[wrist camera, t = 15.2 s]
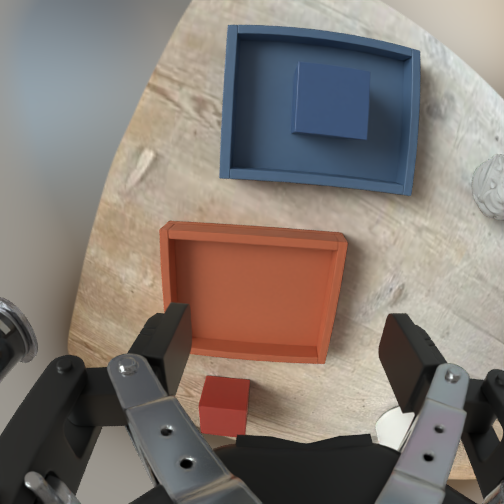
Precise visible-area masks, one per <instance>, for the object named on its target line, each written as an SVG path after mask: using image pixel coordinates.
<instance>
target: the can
mask: <svg viewBox="0 0 504 504" xmlns="http://www.w3.org/2000/svg"><path fill="white" fill-rule="evenodd" d="M414 416H415V414H414V412H411V413H403V414H402V411H401V409H400V406H398V407H395V408H392V409H390V410H389V411H387V412H385V413H384V414H383V415H382V416H381V417H380V418H379V420H378V421H377V423H376V426H375V428H376V433H377V436H378V440H379V444H381V445H385V446H388V447H391V448H393V449H395V450H398V448H399V446H400V444H401V442H402V440H403V438H404V436H405V434H406V432H407V430H408V428H409V426H410V423H411V421H412V419H413V417H414Z"/></svg>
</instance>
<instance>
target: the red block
mask: <svg viewBox="0 0 504 504" xmlns="http://www.w3.org/2000/svg"><path fill="white" fill-rule="evenodd" d="M249 388H250V380H247V379H235V378H225V377H216V376H206V380H205V383H204V387H203V391H202V395H201V398H200V402H199V417H200V427H201V433H205V434H213V435H220V436H230V437H237V434H238V435H245V433H246V423H247V414H248V402H249Z"/></svg>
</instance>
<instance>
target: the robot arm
mask: <svg viewBox="0 0 504 504" xmlns="http://www.w3.org/2000/svg"><path fill="white" fill-rule="evenodd" d="M191 347H192V325H191V308H190V304H186V303H175V302H171V303H170V304H169V306H168V308H167V309H166V311H165V313H164V314H163V313H157V314H155V315H154V316H152V317H151V318H149V319H148V320H147V322H146V324H145V325H144V328H143V329H142V330H141V332H140V334H139V335H138V337H137V338H136V340H135V342H134V343H133V345H132V346H131V348H130V350H129V351H128V353H127V354H122V355H119V356H116V357H115V358H113V359H112V360H111V361H110V362H109V363H108V366H107V367H102V368H85V365H84V362H83V360H82V359H81V358H79V357H77V356H73V355H65V356H61V357H58V358H56V359H54V360H53V361H52V362H51V363H50V364H49V365H48V366H47V368H46V369H45V370H44V372H43V373H42V375H41V376H40V377H39V379H38V380H37V382H36V383H35V384H34V386H33V387H32V389H31V390H30V392H29V393H28V394H27V396H26V397H25V399H24V400H23V402H22V403H21V405H20V406H19V408H18V409H17V411H16V412H15V414H14V415H13V417H12V419H11V420H10V421H9V423H8V424H7V426H6V428H5V429H4V431H3V432H2V434H1V436H0V504H81V503H80V502H79V500H78V499H77V498H76V497H75V495H76V493H77V490H78V487H79V485H80V482H81V479H82V477H83V474H84V471H85V469H86V466H87V464H88V461H89V459H90V456H91V454H92V451H93V449H94V446H95V444H96V441H97V439H98V437H99V434H100V432H101V429H102V427H103V426H125V427H126V430H127V432H128V434H129V436H130V439H131V440H132V443H133V445H134V447H135V449H136V451H137V453H138V455H139V457H140V459H141V461H142V463H143V466H144V468H145V470H146V472H147V474H148V476H149V478H150V480H151V482H152V484H153V486H154V488H153V489H151V490H150V491H148V492H146V493H145V494H143V495H142V496H140V497H139V498H137V499H136V500H134V501H132V502H131V503H129V504H477V503H475V502H474V501H472V500H470V499H469V498H467V497H465V496H464V495H463V494H461V493H459V492H458V491H456V490H455V489H453V488H452V487H450V486H449V485H447V484H446V482H447V479H448V477H449V474H450V471H451V468H452V465H453V462H454V459H455V456H456V452H457V449H458V446H459V442H460V439H461V440H462V443H463V445H464V447H465V450H466V452H467V455H468V458H469V460H470V463H471V465H472V468H473V471H474V473H475V476H476V479H477V481H478V484H479V487H480V490H481V493H482V496H483V499H484V501H483V504H504V371H503V370H499V369H494V370H490V371H489V372H488V374H487V376H486V378H485V380H478V379H470V378H469V375H468V373H467V372H466V370H464V369H463V368H462V367H460V366H458V365H456V364H451V363H447V362H446V360H445V359H444V357H443V356H442V354H441V353H440V351H439V350H438V348H437V347H436V346H435V344H434V343H433V341H432V340H431V338H430V337H429V335H428V334H427V333H426V331H425V330H423V329H422V328H421V327H419V326H418V325H415V324H414V323H413V322H412V320H411V319H410V317H409V316H408V315H407V314H406V313H390V314H389V315H388V316H387V319H386V323H385V326H384V330H383V334H382V337H381V341H380V344H379V359H380V361H381V364H382V366H383V368H384V370H385V373H386V375H387V377H388V380H389V382H390V385H391V387H392V389H393V392H394V394H395V397H396V399H397V401H398V404H399V406H400V409H401V411H402V414H403V413H411V412H414V414H415V416H414V417H413V419H412V421H411V423H410V426H409V428H408V430H407V432H406V434H405V436H404V438H403V440H402V442H401V444H400V446H399V448H398V450H395V449H393V448H391V447H388V446H385V445H381V444H376V443H372V439H371V435H370V434H362V435H348V436H337V437H334V438H330V439H325V440H321V441H317V442H313V443H299V442H294V441H290V440H285V439H280V438H276V437H271V436H252V435H238V434H237V438H236V444H229V445H225V446H221V447H217V448H214V449H212V448H211V447H210V445H209V444H208V443H207V441H206V440H205V439H204V437H203V436H202V434H201V433H200V432H199V430H198V429H197V427H196V426H195V425H194V423H193V422H192V420H191V419H190V417H189V416H188V415H187V413H186V412H185V410H184V409H183V407H182V406H181V404H180V403H179V401H178V400H177V398H176V397H175V395H176V392H177V389H178V386H179V383H180V380H181V377H182V375H183V372H184V369H185V366H186V363H187V360H188V357H189V354H190V352H191ZM27 353H28V342H27V339H26V336H25V334H24V332H23V330H22V328H21V327H20V325H19V324H18V322H17V321H16V320H15V319H14V318H13V317H12V316H11V315H10V314H9V313H8V312H6V311H5V310H3V309H1V308H0V382H1V381H2V380H3V379H4V378H5V377H6V375H7V374H8V373H9V372H10V371H11V370H12V369H13V368H14V367H15V366H16V365H17V363H18V362H19V361H20V360H21V359H22V358H24V357H25V356H26V355H27ZM496 419H498V420H499V422H500V424H501V426H502V428H503V438H502V440H501V442H500V441H499V439H498V437H497V435H496V433H495V431H494V429H493V427H492V425H493V423H494V422H495V420H496Z"/></svg>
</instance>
